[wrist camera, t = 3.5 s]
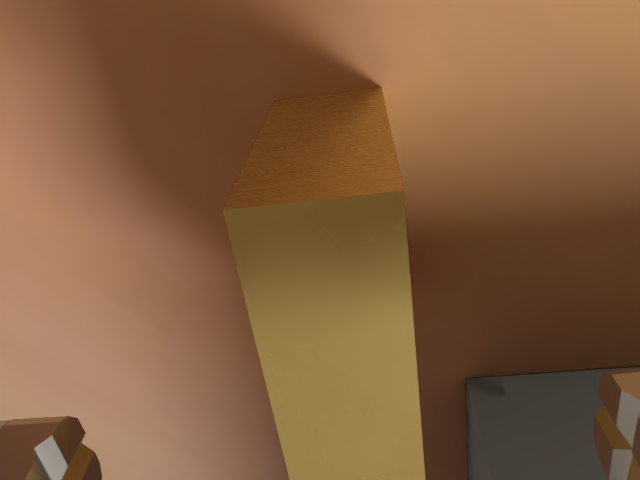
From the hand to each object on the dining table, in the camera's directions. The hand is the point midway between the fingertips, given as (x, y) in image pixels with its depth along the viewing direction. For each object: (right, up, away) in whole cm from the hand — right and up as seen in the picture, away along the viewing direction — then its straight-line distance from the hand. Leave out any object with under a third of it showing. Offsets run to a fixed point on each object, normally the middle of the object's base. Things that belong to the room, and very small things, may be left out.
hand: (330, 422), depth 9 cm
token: (0, +4, +6) cm, 7 cm away
